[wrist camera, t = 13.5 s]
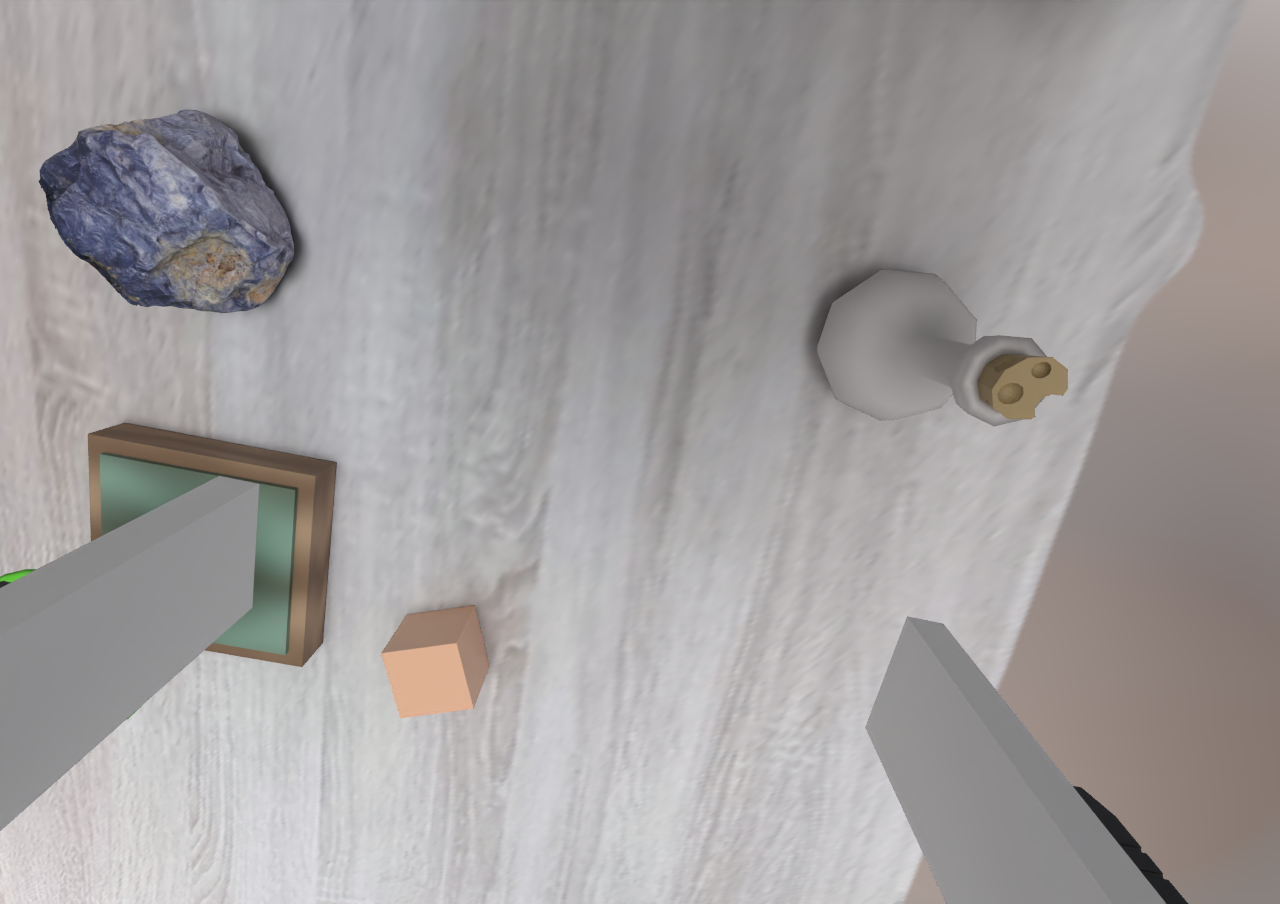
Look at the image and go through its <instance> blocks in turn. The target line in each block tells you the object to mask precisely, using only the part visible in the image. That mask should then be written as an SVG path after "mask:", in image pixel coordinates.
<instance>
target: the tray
mask: <svg viewBox="0 0 1280 904" xmlns="http://www.w3.org/2000/svg"><path fill="white" fill-rule="evenodd" d="M88 454H89V489H90V523H91V541H93V540H95V539H97V538H99V537H101V536H103V535H105V534H107V533H109V532H111V531H113V530H115V529H117V528H119V527H121V526H122V525H124V524H126V523H128V522H130V521H132V520H134V519H136V518H138V517H140V516H142V515H144V514H146V513H148V512H150V511H152V510H154V509H156V508H158V507H160V506H162V505H163V504H165V503H167V502H169V501H171V500H173V499H175V498H177V497H179V496H181V495H183V494H185V493H187V492H189V491H191V490H193V489H195V488H197V487H199V486H201V485H203V484H204V483H206V482H208V481H210V480H212V479H214V478H216V477H218V476H223V477H228V478H233V479H237V480H242V481H247V482H252V483H257V484H259V497H258V515H257V533H256V551H255V569H254V587H253V605H252V608H251V609H250V610H249V611H248V612H247V613H246V614H245V615H243V616H242V617H241V618H240V619H239V620H238V621H237V622H236V623H234V624H233V625H232V626H231V627H230V628H229V629H228V630H227V631H225V632H224V633H223V634H222V635H221V636H220V637H219V638H217V639H216V640H215V641H214V642H213V643H212V644H211V645H210V646H208V647H207V648H206V649H205V650H206V651H212V652H218V653H224V654H230V655H235V656H241V657H247V658H253V659H259V660H264V661H270V662H276V663H282V664H288V665H294V666H299V667H303V665H304V664H305V663H306V662H307V661H308V660H309V658H310V657H311V656H312V655H313V654H314V653H315V651H316V650H317V649H318V648H319V647H320V645H321V644H322V643H323V631H324V618H325V605H326V592H327V579H328V566H329V553H330V540H331V528H332V515H333V502H334V489H335V476H336V462H331V461H325V460H320V459H315V458H309V457H304V456H299V455H293V454H288V453H283V452H277V451H272V450H267V449H261V448H256V447H251V446H245V445H240V444H235V443H229V442H224V441H219V440H213V439H208V438H203V437H197V436H192V435H187V434H181V433H176V432H171V431H165V430H160V429H155V428H149V427H144V426H139V425H133V424H128V423H122V424H119V425H116V426H112V427H109V428H106V429H103V430H99V431H96V432H93V433H89V434H88Z"/></svg>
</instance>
